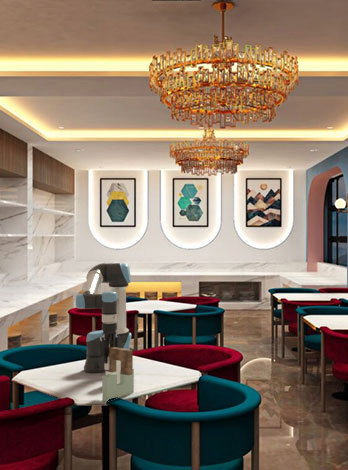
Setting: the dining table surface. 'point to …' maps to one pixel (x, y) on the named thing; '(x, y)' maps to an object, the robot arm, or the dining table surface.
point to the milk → (118, 369)
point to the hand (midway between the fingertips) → (109, 368)
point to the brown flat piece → (122, 356)
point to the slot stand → (117, 386)
